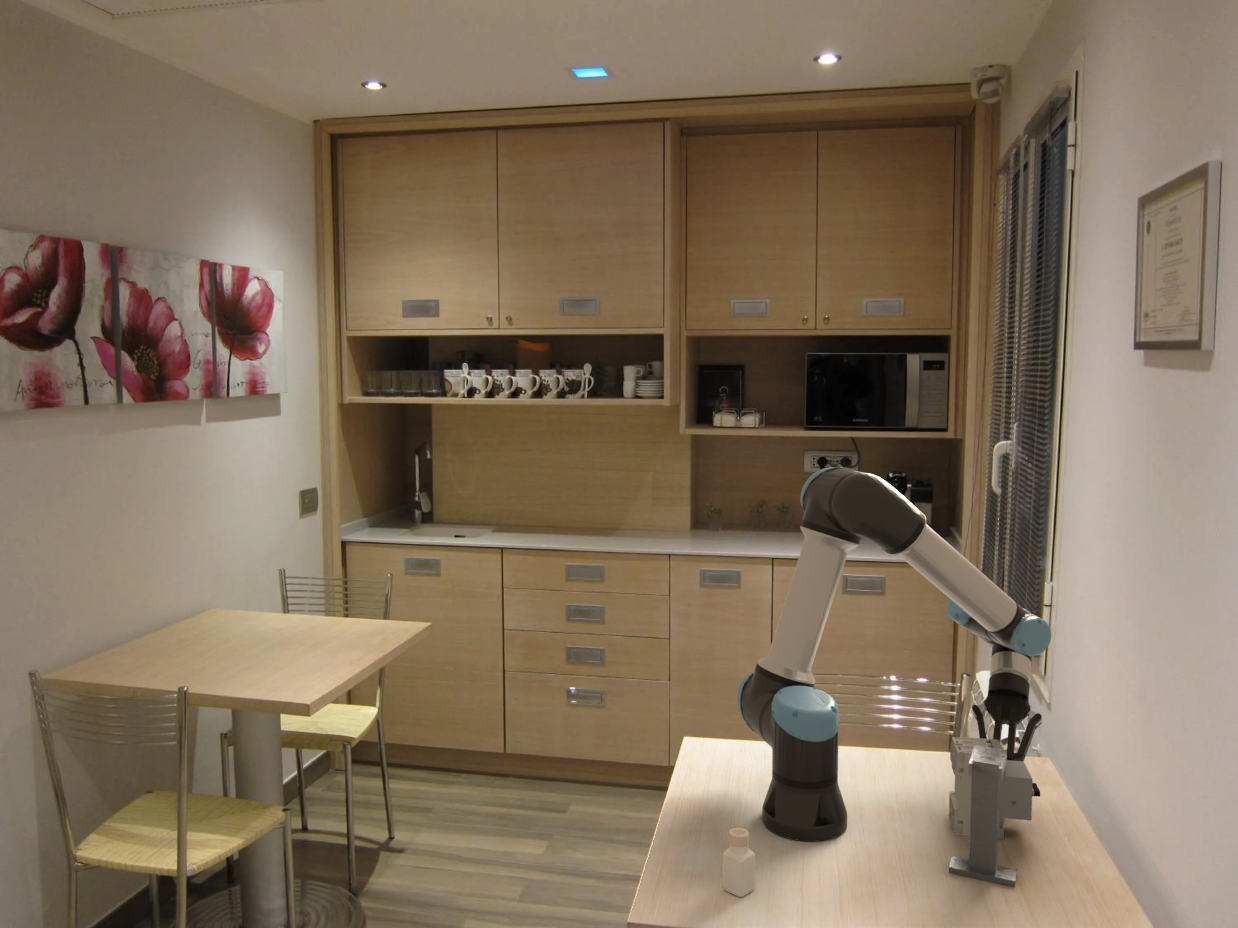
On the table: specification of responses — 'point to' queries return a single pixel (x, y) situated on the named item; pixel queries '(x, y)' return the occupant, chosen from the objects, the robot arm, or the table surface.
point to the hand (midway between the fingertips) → (999, 793)
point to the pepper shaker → (739, 864)
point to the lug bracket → (985, 819)
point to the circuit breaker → (1012, 787)
